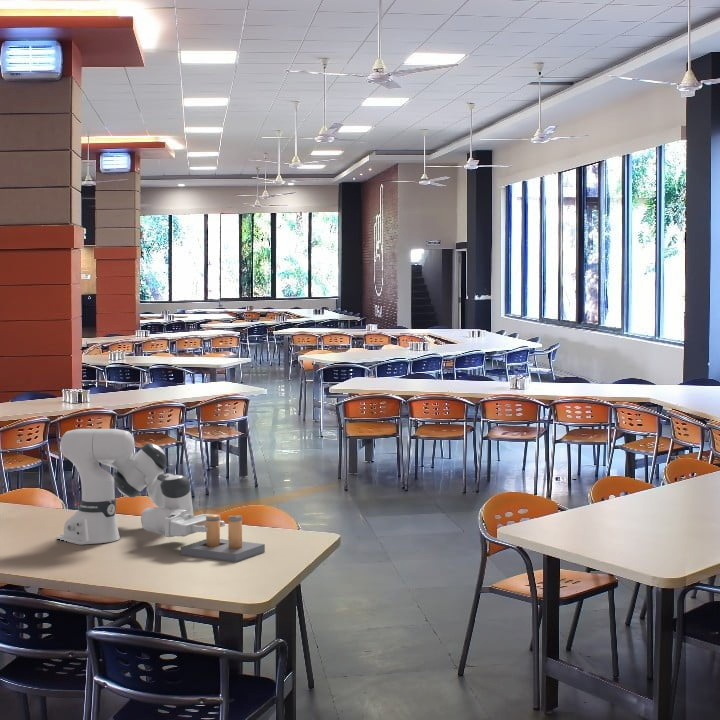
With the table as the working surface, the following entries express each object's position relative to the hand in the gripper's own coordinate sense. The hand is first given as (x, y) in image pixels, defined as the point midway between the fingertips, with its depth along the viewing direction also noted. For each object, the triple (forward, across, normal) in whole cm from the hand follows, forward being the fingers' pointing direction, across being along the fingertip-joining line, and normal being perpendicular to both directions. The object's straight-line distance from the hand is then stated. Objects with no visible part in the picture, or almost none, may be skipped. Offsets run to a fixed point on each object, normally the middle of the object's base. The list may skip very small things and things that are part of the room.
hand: (215, 526), depth 327 cm
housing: (+3, 0, -8) cm, 9 cm away
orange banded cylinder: (-1, 0, -8) cm, 9 cm away
